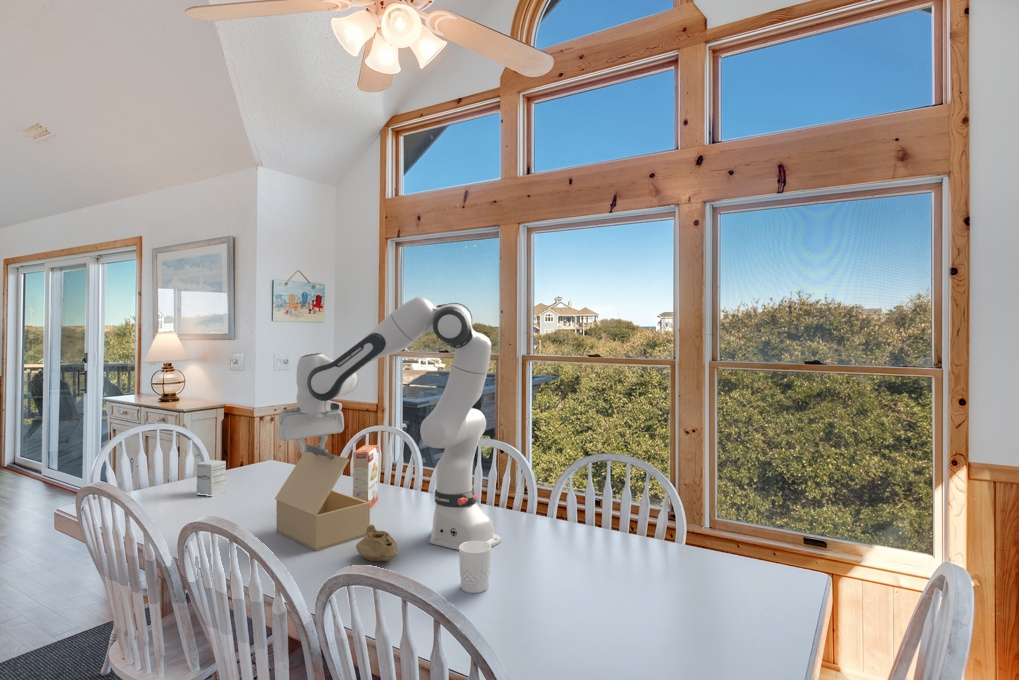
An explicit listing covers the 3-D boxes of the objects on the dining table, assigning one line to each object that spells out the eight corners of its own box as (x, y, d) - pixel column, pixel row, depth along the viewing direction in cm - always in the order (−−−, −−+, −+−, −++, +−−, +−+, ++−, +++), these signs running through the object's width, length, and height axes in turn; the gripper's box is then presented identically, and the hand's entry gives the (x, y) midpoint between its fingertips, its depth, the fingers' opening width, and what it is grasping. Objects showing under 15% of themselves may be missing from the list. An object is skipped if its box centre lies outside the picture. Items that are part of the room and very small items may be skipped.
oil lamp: (380, 572, 144) (380, 542, 144) (347, 557, 154) (347, 529, 154) (413, 559, 153) (413, 530, 153) (379, 546, 162) (379, 519, 162)
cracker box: (369, 511, 195) (369, 451, 195) (352, 511, 195) (352, 451, 195) (379, 499, 209) (379, 444, 209) (363, 499, 209) (363, 444, 209)
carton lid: (349, 459, 166) (336, 451, 163) (316, 516, 158) (301, 508, 155) (308, 449, 182) (296, 441, 179) (276, 499, 174) (262, 492, 171)
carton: (369, 534, 172) (369, 502, 172) (316, 551, 158) (316, 516, 158) (328, 518, 188) (328, 488, 188) (276, 531, 174) (276, 500, 174)
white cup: (474, 577, 141) (474, 538, 141) (497, 586, 136) (497, 545, 136) (452, 588, 135) (452, 547, 135) (475, 597, 130) (475, 555, 130)
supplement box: (195, 495, 214) (195, 463, 214) (211, 490, 221) (211, 459, 221) (211, 497, 211) (211, 464, 211) (226, 492, 219) (226, 460, 218)
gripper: (284, 410, 160) (284, 458, 160) (346, 403, 176) (346, 447, 176) (274, 408, 164) (274, 455, 165) (335, 402, 180) (336, 444, 180)
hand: (312, 451), depth 170 cm, fingers open, 4 cm apart
